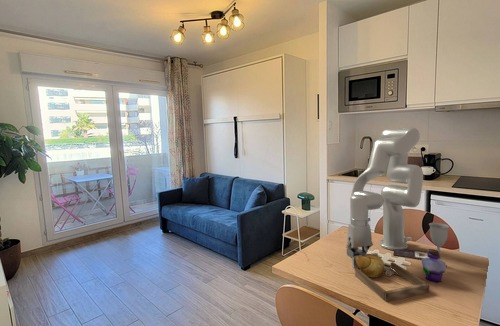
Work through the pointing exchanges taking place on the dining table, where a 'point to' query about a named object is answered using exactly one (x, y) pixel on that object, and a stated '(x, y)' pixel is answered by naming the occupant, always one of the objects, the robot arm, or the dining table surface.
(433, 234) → the chalice
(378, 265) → the bread roll
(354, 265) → the grey t-shaped block
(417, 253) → the chocolate bar
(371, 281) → the walnut frame
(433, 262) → the potion bottle
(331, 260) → the dining table surface
